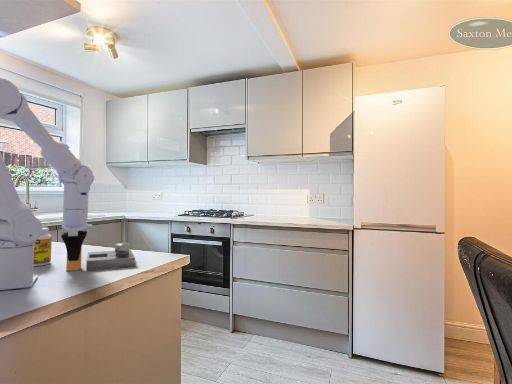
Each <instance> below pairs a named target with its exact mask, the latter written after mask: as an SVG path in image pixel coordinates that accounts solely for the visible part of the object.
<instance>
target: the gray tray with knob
mask: <svg viewBox="0 0 512 384" xmlns="http://www.w3.org/2000/svg"><path fill="white" fill-rule="evenodd" d="M135 259H136V258H135V255H134V253H133V251H132V249H130V243H129V242H120V243H115V244H114V250H105V251H89V252H87V256H86V263H85V264H86V266H85V267H86V270H85V271H97V270H107V269H108V270H109V269H117V268H120V269H121V268H131V267H135V263H136V260H135Z"/></svg>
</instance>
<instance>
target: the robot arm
mask: <svg viewBox="0 0 512 384" xmlns="http://www.w3.org/2000/svg"><path fill="white" fill-rule="evenodd" d="M0 120H5V121H8V122H13V123H14V124H15V125H16V126H17V127H18V128H19V129H20V130H21V131H22V132H24V133H25V135H27V136H28V137H29V139H31V140H32V141H33V142H34V143H35V144H36V145H37V146H38V147H40V148H41V151H40V155H41V157H42V158H43V159H44V160H45V161H46V162H47V163H48V164H49V165H50V166H51V167H52V168H53V169H54V170H55V172H56V173H57V176H58V180H59V182H60V183H62V184H63V205H62V208H63V210H62V225H61V229H62V230H65V231H66V232H65V231H64V232H63V233H62V234H61V236H60V238H61V240H62V241H63V243H64V245H65V249H66V256H67V255H68V259H69V261H77V260H78V259H79V256H80V251H81V246H82V247H83V243H84V241H85V239H86V237H87V235H88V230H85V229H91V228H93V224H92V223H91V224H88V219H89V217H88V215H89V192H90V191H91V186H92V184H93V183H94V180H95V176H94V174H93V171H92V169H91V168H90V167H88V166H87V165H85V164H82V163H81V159H78V158H77V157H76V156H75V155H74V154H73V152H72V151H71V150H70V146H69V145H68V144H66V143H65V142H62V141H59V140H58V141H57V140H55V139H54V137H53V136H52V135H51V134H50V133H49V131H48V130H47V128H46V127H45V126H44V125H43V122H41V121H40V119H39V118H38V116H37V115H35V113H34V112H33V110H32V109H31V108H30V106H29V103H28V98H27V97H26V96H25V95H24V94H22V93H21V92H20V90H19V89H18V87H17V86H16V85H15V83H13V82H12V81H10V80H8V79H6V78H3V77H2V78H1V77H0ZM11 176H12V175H10V172H9V169H8V166H7V165H6V162H5V159H4V157H3V154H2V152H1V150H0V291H6V290H14V289H23V288H24V289H26V288H31V287H32V286H33V285H34V283H35V282H36V280H37V279H38V276H39V275H34V266H33V261H34V245H35V241H36V240H37V239H38V238H39V237H40V235H41V233H42V228H43V224H42V222H41V220H40V219H38V218H37V217H36V216H35V215H34V214H33V211H32V209H31V208H30V207H29V206H28V205H27V204H25V202H23V201H22V200H20V197H19V194H18V192H17V189H16V187H15V184H14V181H13V179H12V177H11Z"/></svg>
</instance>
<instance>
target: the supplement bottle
mask: <svg viewBox="0 0 512 384" xmlns="http://www.w3.org/2000/svg"><path fill="white" fill-rule="evenodd" d="M49 232H50V229H49V227H42V233H41V235H40V237H39V238H38V239H37V240H36V241H35V245H34V261H33V267H40V266H46V265H49V264H50V263H51V262H52V245H53V244H52V242H53V238H52V234H50V233H49Z"/></svg>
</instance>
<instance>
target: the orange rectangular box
mask: <svg viewBox="0 0 512 384" xmlns="http://www.w3.org/2000/svg"><path fill="white" fill-rule="evenodd" d="M82 247H83V245H82V246H81V251H80V256H79V259H78V260H77V261H69V259H68V255H67V254H66V267H65V268H66V269H65V271H66V272H67V271H69V272H70V271H78V270H81V268H82V253H83V252H82Z"/></svg>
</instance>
